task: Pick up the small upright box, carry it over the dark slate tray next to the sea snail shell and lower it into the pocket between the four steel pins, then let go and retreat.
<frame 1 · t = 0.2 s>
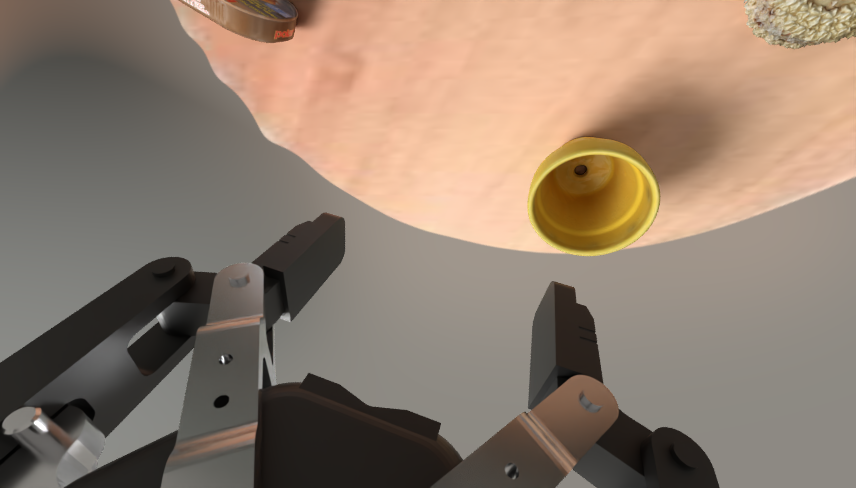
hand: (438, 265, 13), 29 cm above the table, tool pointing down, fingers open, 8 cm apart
plant pot: (581, 167, 37), on the table
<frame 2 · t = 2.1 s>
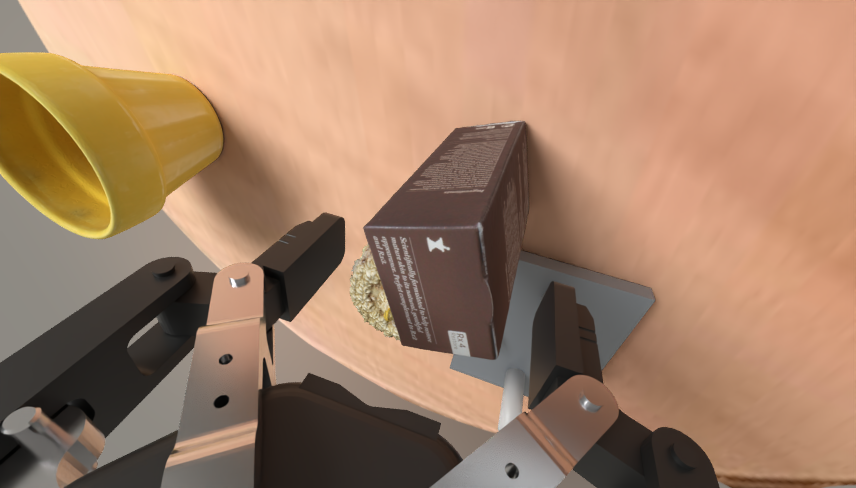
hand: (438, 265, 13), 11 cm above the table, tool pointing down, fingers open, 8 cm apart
box: (491, 170, 21), on the table
pin tray: (533, 329, 27), on the table
plant pot: (189, 119, 27), on the table
sea snail shell: (412, 276, 29), on the table
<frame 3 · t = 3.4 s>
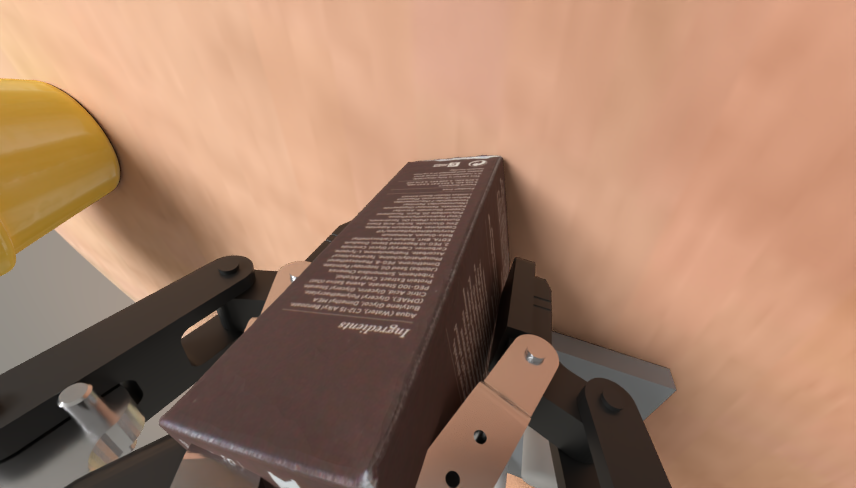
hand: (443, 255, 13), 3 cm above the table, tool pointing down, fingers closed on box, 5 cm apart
box: (459, 217, 16), on the table, touching gripper
pin tray: (518, 402, 22), on the table
plant pot: (75, 137, 21), on the table
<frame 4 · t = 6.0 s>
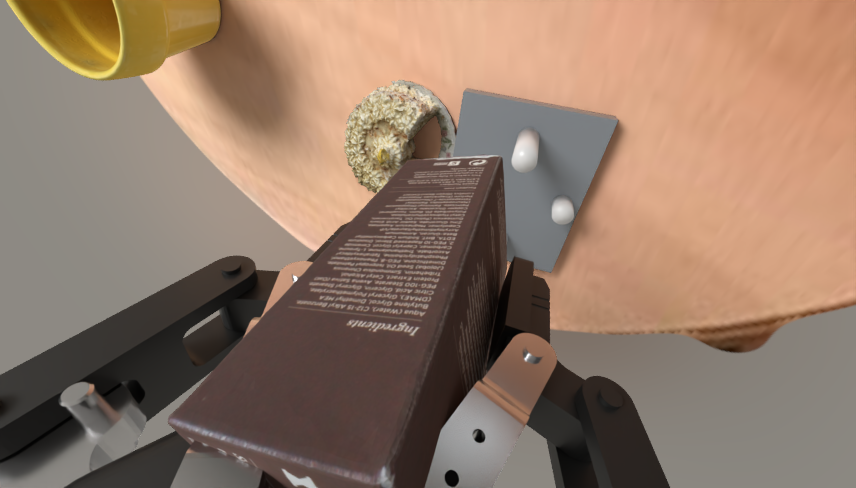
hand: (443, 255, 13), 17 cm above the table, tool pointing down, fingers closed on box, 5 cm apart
box: (458, 215, 16), point 14 cm above the table, touching gripper
pin tray: (513, 186, 29), on the table
sea snail shell: (404, 139, 30), on the table
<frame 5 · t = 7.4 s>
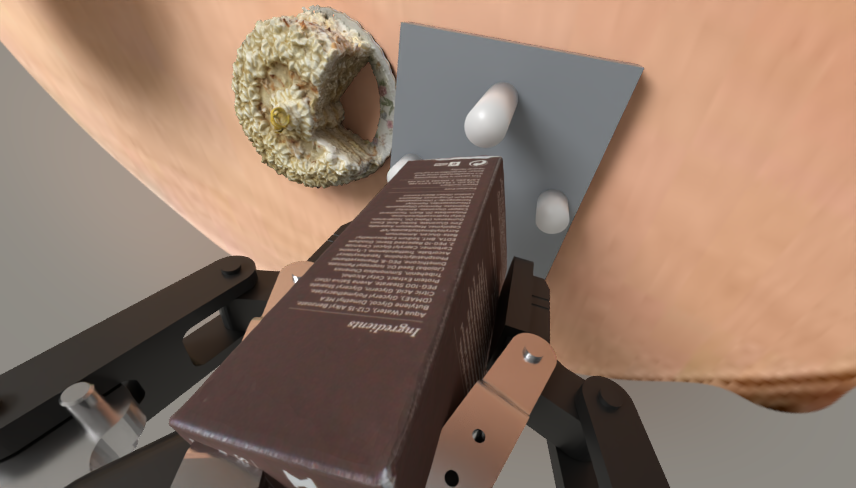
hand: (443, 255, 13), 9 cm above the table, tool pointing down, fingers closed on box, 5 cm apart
box: (458, 216, 16), point 5 cm above the table, touching gripper
pin tray: (483, 176, 20), on the table
sea snail shell: (330, 102, 21), on the table, touching pin tray
when the fingers open (5 cm above the table, at t = 8.7 s): box stays where it is, resting on pin tray.
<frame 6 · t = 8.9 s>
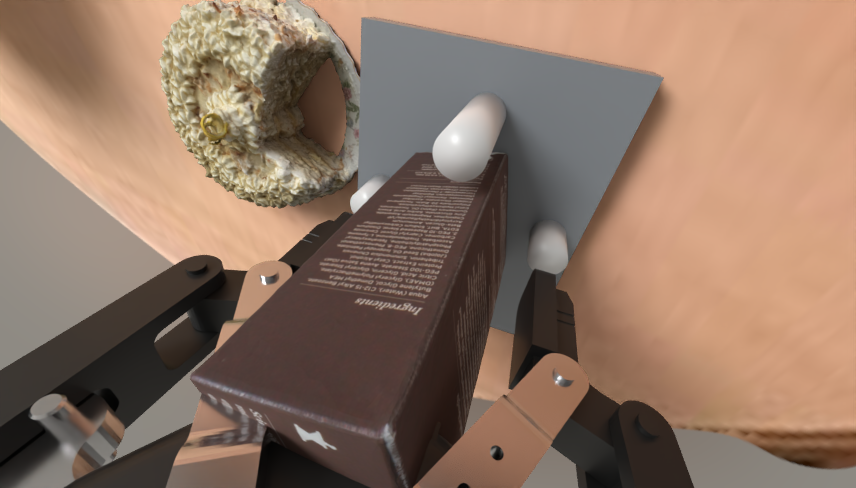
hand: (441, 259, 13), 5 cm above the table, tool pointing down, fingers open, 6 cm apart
box: (461, 209, 16), point 1 cm above the table, touching pin tray
pin tray: (467, 200, 17), on the table
sea snail shell: (288, 105, 18), on the table, touching pin tray
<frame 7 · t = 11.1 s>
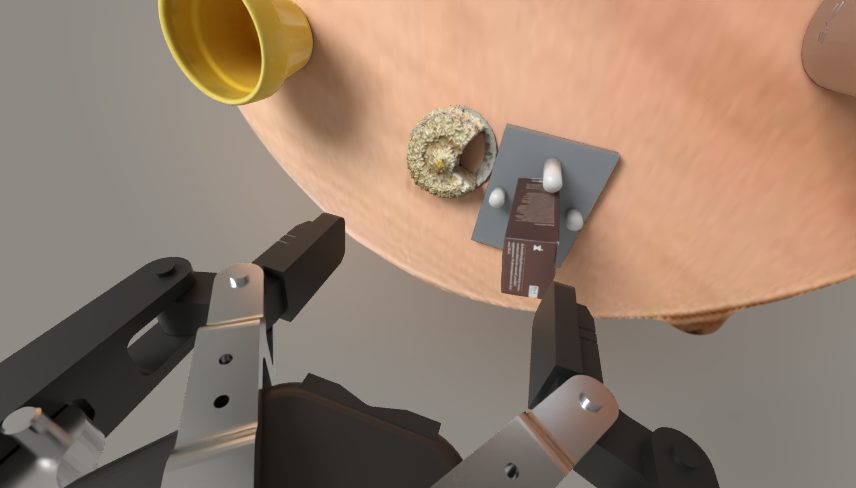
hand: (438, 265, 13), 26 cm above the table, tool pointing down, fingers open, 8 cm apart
box: (534, 202, 37), point 1 cm above the table, touching pin tray
pin tray: (535, 198, 37), on the table
plant pot: (285, 34, 36), on the table
sea snail shell: (452, 150, 38), on the table
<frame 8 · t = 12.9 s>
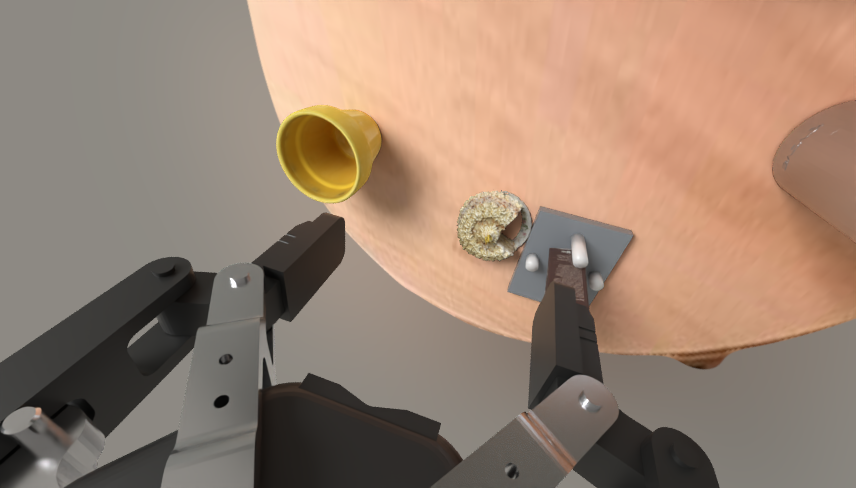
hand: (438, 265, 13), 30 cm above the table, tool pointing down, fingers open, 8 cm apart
box: (562, 265, 45), point 1 cm above the table, touching pin tray
pin tray: (563, 261, 45), on the table
plant pot: (358, 135, 44), on the table
sea snail shell: (493, 221, 46), on the table
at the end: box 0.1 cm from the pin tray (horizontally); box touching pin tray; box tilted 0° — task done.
